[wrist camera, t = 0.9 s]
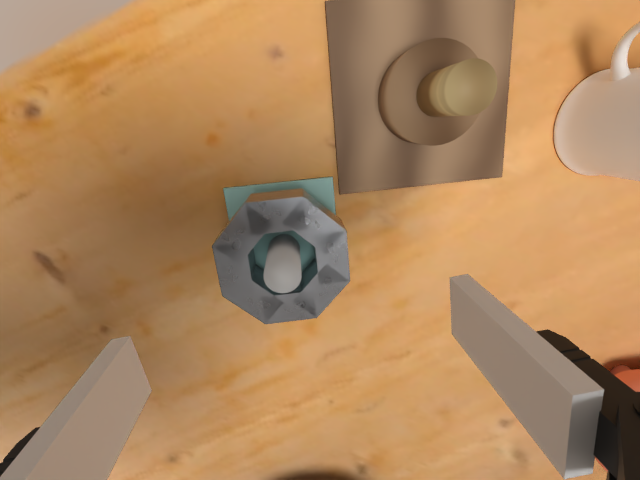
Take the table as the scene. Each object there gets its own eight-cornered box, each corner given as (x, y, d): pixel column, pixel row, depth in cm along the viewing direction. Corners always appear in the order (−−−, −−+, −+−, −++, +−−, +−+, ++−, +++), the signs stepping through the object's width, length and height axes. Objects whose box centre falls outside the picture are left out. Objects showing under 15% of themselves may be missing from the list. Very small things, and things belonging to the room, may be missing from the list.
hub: (339, 193, 30) (356, 219, 22) (324, 2, 26) (340, -53, 17) (499, 176, 31) (573, 195, 23) (513, -14, 26) (611, -74, 18)
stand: (241, 285, 32) (223, 345, 24) (224, 187, 29) (195, 215, 21) (340, 274, 32) (357, 328, 24) (332, 176, 30) (348, 198, 21)
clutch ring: (235, 307, 28) (228, 328, 25) (213, 197, 25) (204, 207, 23) (346, 294, 29) (352, 313, 26) (338, 184, 26) (343, 192, 23)
